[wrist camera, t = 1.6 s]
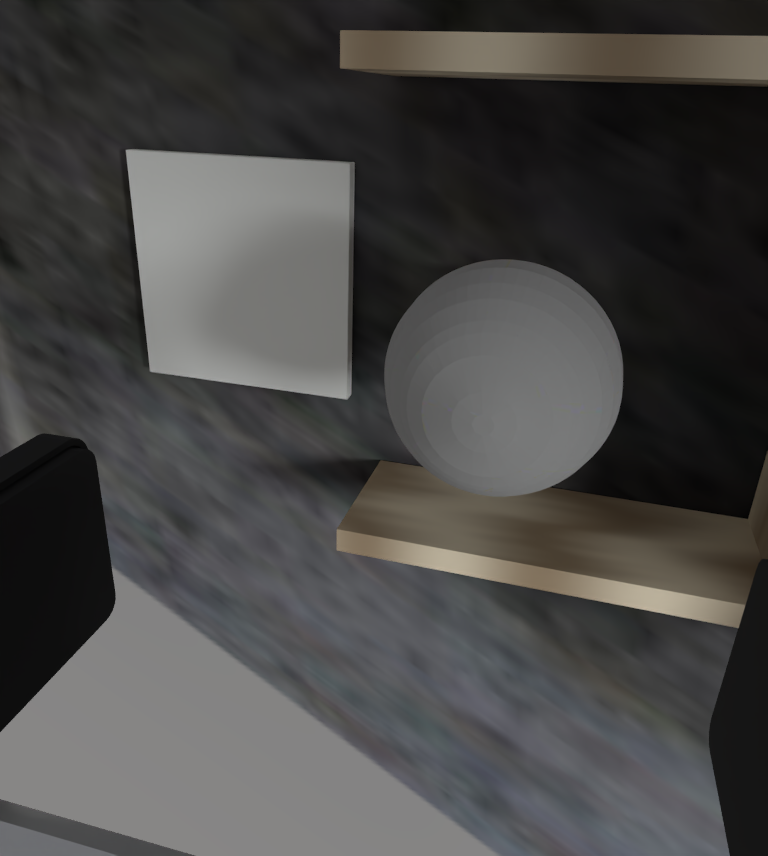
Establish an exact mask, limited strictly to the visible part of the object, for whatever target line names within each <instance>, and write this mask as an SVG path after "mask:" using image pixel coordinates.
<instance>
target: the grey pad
mask: <svg viewBox="0 0 768 856" xmlns="http://www.w3.org/2000/svg"><path fill="white" fill-rule="evenodd" d="M126 157H127V166H128V175H129V184H130V193H131V202H132V211H133V220H134V229H135V238H136V248H137V257H138V266H139V275H140V284H141V293H142V302H143V311H144V320H145V329H146V338H147V347H148V356H149V366H150V372H156V373H163V374H170V375H177V376H185V377H192V378H199V379H206V380H213V381H220V382H227V383H234V384H241V385H248V386H256V387H263V388H270V389H277V390H284V391H291V392H298V393H305V394H312V395H319V396H326V397H334V398H341V399H348V398H349V397H350V395H351V383H352V317H353V251H354V186H355V162H345V161H328V160H311V159H294V158H277V157H261V156H244V155H227V154H210V153H193V152H176V151H159V150H142V149H129V150H126Z"/></svg>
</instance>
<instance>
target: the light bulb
mask: <svg viewBox="0 0 768 856" xmlns="http://www.w3.org/2000/svg"><path fill="white" fill-rule="evenodd" d="M384 381H385V394H386V401H387V406H388V410H389V414H390V417H391V420H392V423H393V425H394V427H395V430H396V432H397V434H398V435H399V437H400V439H401V441H402V442H403V444H404V445H405V446H406V448H407V449H408V450H409V452H410V453H411V454H412V455H413V456H414V458H415V459H416V460H417V461H418V462H419V463H420V464H421V465H422V466H423V467H424V468H425V469H427V470H428V471H429V472H430V473H431V474H433V475H434V476H436V477H437V478H439V479H440V480H442V481H444V482H445V483H447V484H449V485H451V486H454V487H456V488H458V489H461V490H464V491H467V492H470V493H474V494H479V495H484V496H494V497H507V496H517V495H524V494H529V493H533V492H537V491H540V490H543V489H546V488H549V487H551V486H553V485H555V484H557V483H559V482H561V481H563V480H564V479H566V478H568V477H569V476H571V475H572V474H573V473H575V472H576V471H577V470H578V469H579V468H581V467H582V466H583V465H584V464H585V463H586V462H587V461H588V460H590V459H591V458H592V457H593V456H594V454H595V453H596V452H597V451H598V450H599V449H600V447H601V446H602V445H603V443H604V442H605V441H606V439H607V437H608V436H609V434H610V432H611V430H612V428H613V426H614V424H615V422H616V419H617V416H618V413H619V409H620V404H621V400H622V390H623V360H622V353H621V348H620V344H619V341H618V338H617V335H616V332H615V330H614V328H613V326H612V323H611V321H610V320H609V318H608V316H607V315H606V313H605V311H604V310H603V309H602V307H601V306H600V305H599V304H598V302H597V301H596V300H595V299H594V298H593V297H592V296H591V295H590V294H589V293H588V292H587V291H586V290H585V289H584V288H583V287H581V286H580V285H579V284H578V283H576V282H575V281H573V280H572V279H570V278H569V277H567V276H565V275H563V274H562V273H560V272H558V271H555V270H553V269H551V268H548V267H546V266H543V265H539V264H536V263H532V262H527V261H521V260H512V259H498V260H487V261H482V262H477V263H473V264H470V265H466V266H463V267H461V268H458V269H456V270H454V271H452V272H450V273H448V274H446V275H444V276H443V277H441V278H440V279H438V280H437V281H435V282H434V283H433V284H431V285H430V286H429V287H428V288H426V289H425V290H424V291H423V292H422V293H421V294H420V295H419V296H418V298H417V299H416V300H415V301H414V303H413V304H412V305H411V306H410V307H409V309H408V310H407V311H406V312H405V314H404V315H403V317H402V318H401V320H400V321H399V323H398V325H397V327H396V329H395V330H394V332H393V335H392V337H391V340H390V343H389V346H388V350H387V354H386V360H385V369H384Z"/></svg>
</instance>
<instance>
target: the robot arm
mask: <svg viewBox="0 0 768 856" xmlns="http://www.w3.org/2000/svg"><path fill="white" fill-rule="evenodd" d="M114 604H115V588H114V581H113V574H112V567H111V560H110V553H109V546H108V539H107V532H106V525H105V519H104V512H103V505H102V498H101V491H100V484H99V477H98V470H97V463H96V459H95V456H94V454H93V453H92V452H91V451H90V450H88V448H87V446H86V445H85V443H84V442H83V441H82V440H80V439H77V438H71V437H64V436H58V435H52V434H40V435H38V436H36V437H34V438H32V439H31V440H29V441H27V442H25V443H24V444H22V445H20V446H19V447H17V448H15V449H14V450H12V451H10V452H8V453H7V454H5V455H3V456H2V457H0V732H1V731H2V730H3V729H4V727H5V726H6V725H7V724H8V723H9V722H10V721H11V720H12V719H13V718H14V717H15V716H16V715H17V714H18V713H19V712H20V711H21V710H22V709H23V708H24V706H25V705H26V704H27V703H28V702H29V701H30V700H31V699H32V698H33V697H34V696H35V695H36V694H37V693H38V692H39V691H40V690H41V689H42V687H43V686H44V685H45V684H46V683H47V682H48V681H49V680H50V679H51V678H52V677H53V676H54V675H55V674H56V673H57V672H58V671H59V670H60V669H61V667H62V666H63V665H64V664H65V663H66V662H67V661H68V660H69V659H70V658H71V657H72V656H73V655H74V654H75V653H76V651H77V650H78V649H80V647H81V646H82V645H83V644H84V643H85V642H86V641H87V640H88V639H89V638H90V637H91V636H92V635H93V634H94V633H95V632H96V631H97V630H98V629H99V627H100V626H101V625H102V624H103V623H104V622H105V621H106V620H107V619H108V617H109V616H110V614H111V612H112V611H113V608H114ZM709 747H710V754H711V759H712V764H713V770H714V775H715V780H716V785H717V790H718V796H719V801H720V806H721V811H722V816H723V822H724V827H725V832H726V837H727V842H728V848H729V853H730V856H768V559H762V560H761V561H760V562H759V564H758V566H757V569H756V572H755V575H754V578H753V582H752V585H751V588H750V592H749V595H748V598H747V602H746V605H745V608H744V612H743V615H742V618H741V622H740V625H739V628H738V632H737V635H736V638H735V642H734V645H733V648H732V652H731V655H730V658H729V662H728V665H727V668H726V672H725V675H724V678H723V682H722V685H721V688H720V692H719V695H718V698H717V702H716V705H715V708H714V712H713V715H712V718H711V723H710V730H709ZM0 856H194V855H191V854H188V853H184V852H181V851H177V850H173V849H170V848H167V847H163V846H160V845H157V844H153V843H149V842H146V841H143V840H139V839H136V838H132V837H129V836H125V835H122V834H119V833H115V832H112V831H108V830H105V829H101V828H98V827H94V826H91V825H87V824H84V823H80V822H77V821H74V820H70V819H67V818H63V817H60V816H56V815H53V814H49V813H46V812H42V811H39V810H35V809H32V808H29V807H25V806H22V805H18V804H15V803H11V802H8V801H4V800H1V799H0Z"/></svg>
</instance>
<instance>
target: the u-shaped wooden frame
mask: <svg viewBox="0 0 768 856" xmlns="http://www.w3.org/2000/svg"><path fill="white" fill-rule="evenodd" d="M340 68H342V69H349V70H356V71H363V72H370V73H377V74H384V75H391V76H415V77H449V78H484V79H518V80H552V81H587V82H621V83H655V84H690V85H724V86H758V87H768V36H729V35H657V34H585V33H513V32H441V31H369V30H340ZM337 550H338V551H343V552H348V553H353V554H358V555H363V556H369V557H374V558H379V559H384V560H389V561H394V562H400V563H405V564H410V565H415V566H420V567H425V568H431V569H436V570H441V571H446V572H451V573H456V574H462V575H467V576H472V577H477V578H482V579H487V580H493V581H498V582H503V583H508V584H513V585H518V586H524V587H529V588H534V589H539V590H544V591H549V592H555V593H560V594H565V595H570V596H575V597H580V598H586V599H591V600H596V601H601V602H606V603H611V604H617V605H622V606H627V607H632V608H637V609H642V610H648V611H653V612H658V613H663V614H668V615H673V616H679V617H684V618H689V619H694V620H699V621H704V622H709V623H715V624H720V625H725V626H730V627H735V628H739V625H740V622H741V618H742V615H743V612H744V608H745V605H746V602H747V598H748V595H749V592H750V588H751V585H752V582H753V578H754V575H755V572H756V569H757V566H758V564H759V562H760V561H761V560H762V559H768V451H767V455H766V458H765V461H764V465H763V468H762V472H761V475H760V479H759V482H758V486H757V489H756V493H755V496H754V500H753V503H752V507H751V510H750V514H749V517H748V519H745V518H738V517H732V516H726V515H720V514H714V513H707V512H701V511H695V510H689V509H682V508H676V507H670V506H664V505H657V504H651V503H645V502H639V501H632V500H626V499H620V498H614V497H607V496H601V495H595V494H589V493H582V492H576V491H570V490H564V489H557V488H551V487H549V488H546V489H543V490H540V491H537V492H533V493H529V494H524V495H517V496H507V497H494V496H484V495H479V494H474V493H470V492H467V491H464V490H461V489H458V488H456V487H454V486H451V485H449V484H447V483H445V482H444V481H442V480H440V479H439V478H437V477H436V476H434V475H433V474H431V473H430V472H429V471H428V470H427V469H425V468H424V467H420V466H414V465H407V464H401V463H395V462H389V461H382V460H381V461H380V462H379V464H378V465H377V467H376V468H375V470H374V472H373V473H372V475H371V476H370V478H369V479H368V481H367V483H366V484H365V486H364V487H363V489H362V490H361V492H360V494H359V495H358V497H357V498H356V500H355V501H354V503H353V505H352V506H351V508H350V509H349V511H348V512H347V514H346V516H345V517H344V519H343V520H342V522H341V523H340V525H339V527H338V528H337Z"/></svg>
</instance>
